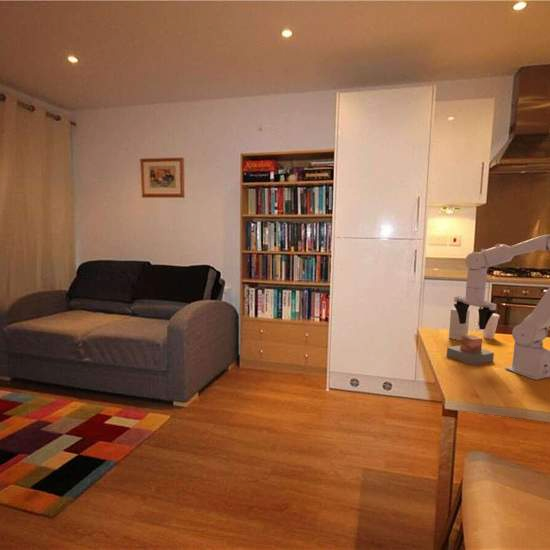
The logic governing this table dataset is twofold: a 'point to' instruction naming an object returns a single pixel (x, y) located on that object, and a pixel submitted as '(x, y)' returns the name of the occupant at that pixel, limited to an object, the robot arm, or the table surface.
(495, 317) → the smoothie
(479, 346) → the cube
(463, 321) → the robot arm
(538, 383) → the table surface
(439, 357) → the table surface
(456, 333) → the skincare box
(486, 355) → the base block
